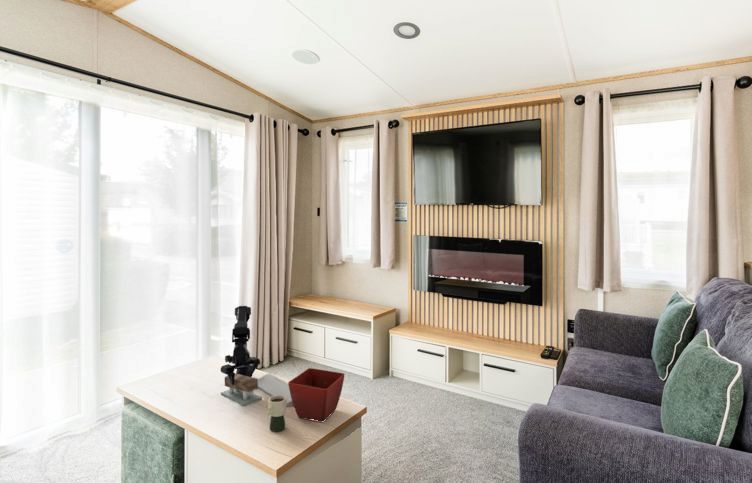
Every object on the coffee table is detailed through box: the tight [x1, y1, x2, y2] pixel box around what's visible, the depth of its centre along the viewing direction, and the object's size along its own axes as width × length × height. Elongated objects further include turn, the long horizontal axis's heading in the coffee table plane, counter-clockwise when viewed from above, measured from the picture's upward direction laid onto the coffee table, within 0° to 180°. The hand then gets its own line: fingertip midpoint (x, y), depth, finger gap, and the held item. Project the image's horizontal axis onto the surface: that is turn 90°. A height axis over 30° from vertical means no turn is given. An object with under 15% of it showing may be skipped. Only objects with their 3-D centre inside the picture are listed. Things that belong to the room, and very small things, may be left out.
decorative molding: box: [257, 372, 294, 407], centre depth 204 cm, size 34×5×10 cm
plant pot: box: [287, 367, 345, 422], centre depth 181 cm, size 19×19×17 cm
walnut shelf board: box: [224, 372, 259, 392], centre depth 198 cm, size 16×6×4 cm, turn 63°
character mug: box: [267, 395, 287, 432], centre depth 167 cm, size 11×7×13 cm, turn 152°
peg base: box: [220, 387, 263, 407], centre depth 198 cm, size 10×20×5 cm, turn 51°
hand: (241, 382), depth 198 cm, fingers open, 9 cm apart
